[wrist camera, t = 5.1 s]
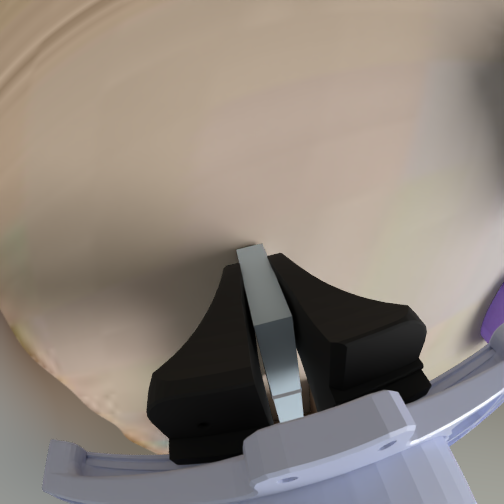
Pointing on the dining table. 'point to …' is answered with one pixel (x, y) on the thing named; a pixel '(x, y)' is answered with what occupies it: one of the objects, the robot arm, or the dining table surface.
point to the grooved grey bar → (272, 331)
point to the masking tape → (493, 315)
